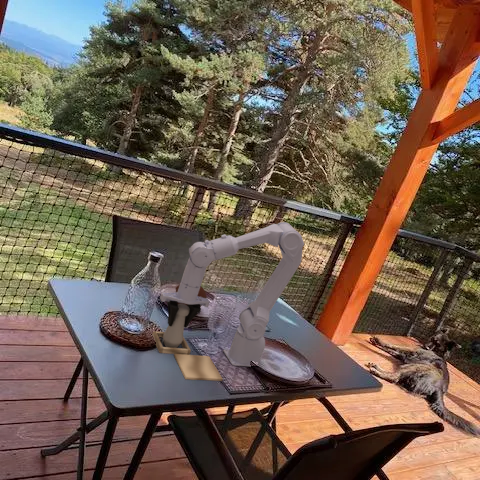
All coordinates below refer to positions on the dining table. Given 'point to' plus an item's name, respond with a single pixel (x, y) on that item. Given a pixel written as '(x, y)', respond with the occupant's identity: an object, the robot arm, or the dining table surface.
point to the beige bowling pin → (176, 328)
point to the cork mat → (197, 367)
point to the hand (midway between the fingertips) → (177, 325)
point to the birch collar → (167, 349)
